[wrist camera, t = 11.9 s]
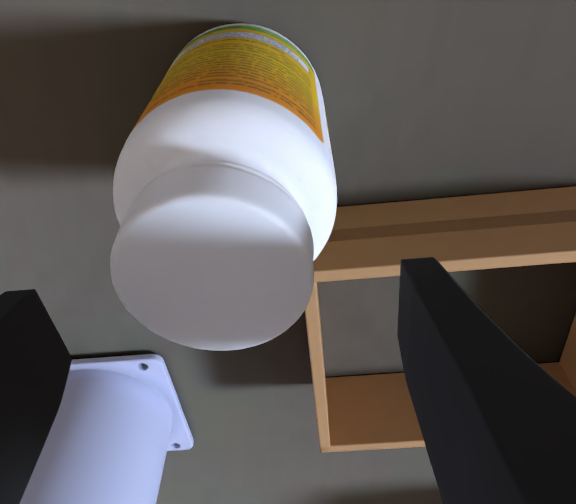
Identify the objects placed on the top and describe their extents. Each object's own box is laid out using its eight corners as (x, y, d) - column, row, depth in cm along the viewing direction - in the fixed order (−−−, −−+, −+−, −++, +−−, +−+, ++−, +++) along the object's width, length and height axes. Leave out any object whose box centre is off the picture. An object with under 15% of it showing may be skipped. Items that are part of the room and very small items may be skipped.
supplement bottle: (138, 53, 16) (5, 212, 9) (292, -7, 15) (299, 113, 8) (207, 188, 20) (155, 395, 12) (340, 146, 18) (378, 342, 11)
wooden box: (315, 384, 27) (319, 453, 24) (297, 209, 20) (299, 272, 17) (566, 367, 26) (606, 436, 23) (633, 180, 19) (701, 240, 16)
